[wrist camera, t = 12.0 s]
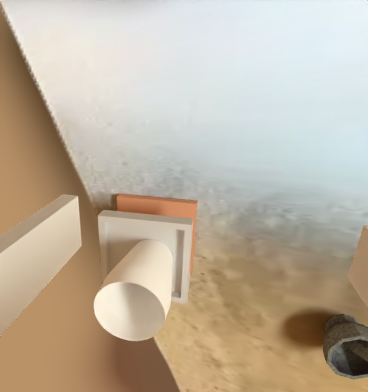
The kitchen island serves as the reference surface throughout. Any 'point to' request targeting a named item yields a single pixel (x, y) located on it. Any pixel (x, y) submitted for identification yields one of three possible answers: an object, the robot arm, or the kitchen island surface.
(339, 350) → the mortar and pestle
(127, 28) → the kitchen island surface
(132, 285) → the cup
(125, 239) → the stand
